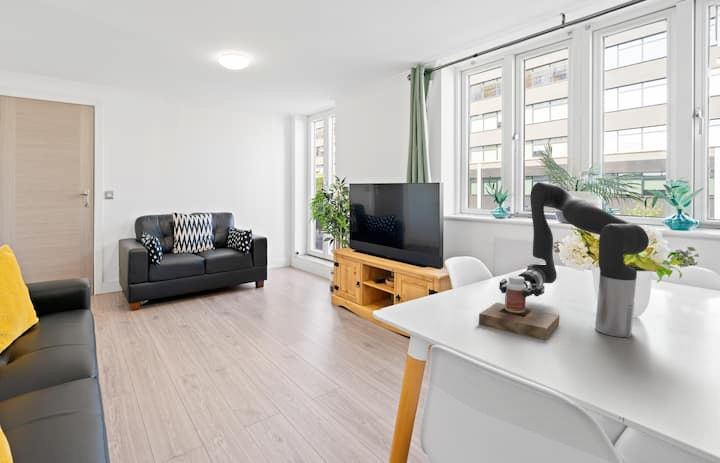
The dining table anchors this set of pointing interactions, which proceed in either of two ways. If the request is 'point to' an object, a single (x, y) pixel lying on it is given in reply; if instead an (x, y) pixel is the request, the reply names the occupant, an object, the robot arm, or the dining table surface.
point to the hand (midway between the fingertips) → (513, 292)
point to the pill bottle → (515, 294)
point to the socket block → (520, 321)
